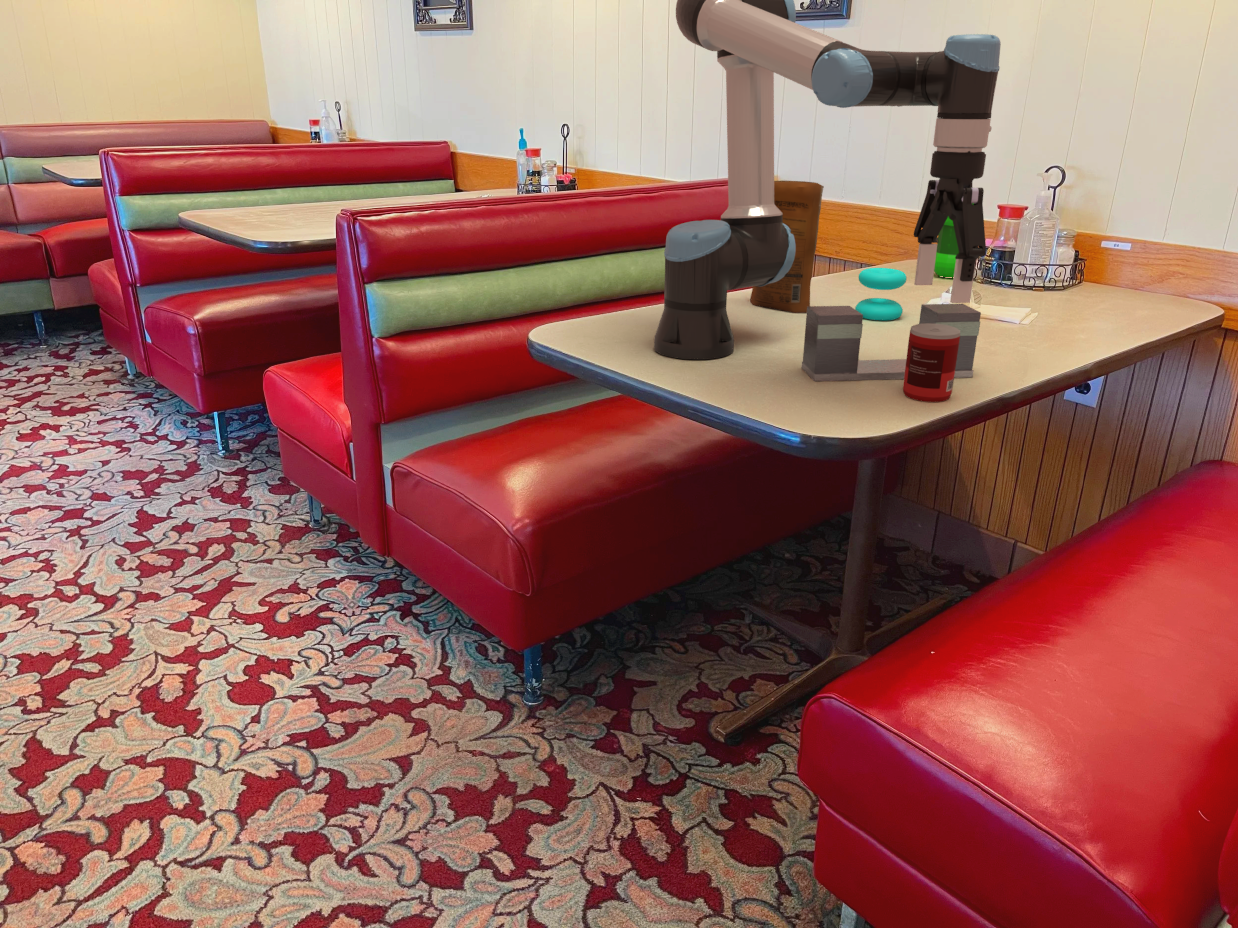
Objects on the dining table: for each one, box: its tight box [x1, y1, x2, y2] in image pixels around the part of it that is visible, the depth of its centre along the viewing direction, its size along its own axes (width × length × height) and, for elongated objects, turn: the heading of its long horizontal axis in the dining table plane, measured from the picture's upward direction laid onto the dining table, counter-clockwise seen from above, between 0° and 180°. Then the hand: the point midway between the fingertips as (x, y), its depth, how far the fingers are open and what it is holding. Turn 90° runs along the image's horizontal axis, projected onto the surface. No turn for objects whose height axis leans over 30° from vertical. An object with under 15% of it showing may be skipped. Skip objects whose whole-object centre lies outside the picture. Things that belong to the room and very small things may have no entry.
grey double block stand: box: [801, 303, 982, 382], centre depth 160 cm, size 28×8×11 cm, turn 96°
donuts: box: [854, 267, 907, 322], centre depth 201 cm, size 10×10×10 cm
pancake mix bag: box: [749, 180, 824, 314], centre depth 205 cm, size 7×19×28 cm, turn 46°
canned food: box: [902, 323, 960, 403], centre depth 149 cm, size 8×8×11 cm
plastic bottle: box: [934, 216, 959, 278], centre depth 241 cm, size 10×10×25 cm
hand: (940, 293), depth 145 cm, fingers open, 13 cm apart
